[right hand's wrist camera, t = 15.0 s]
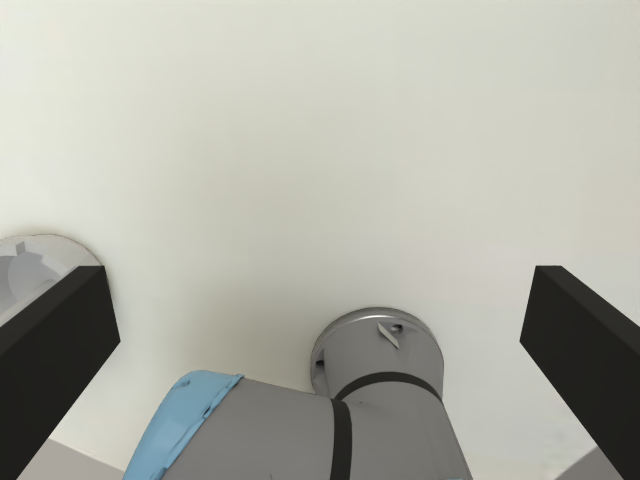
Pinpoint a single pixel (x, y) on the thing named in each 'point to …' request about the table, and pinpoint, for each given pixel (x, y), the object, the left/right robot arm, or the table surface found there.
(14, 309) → the flag stand
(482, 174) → the table surface
